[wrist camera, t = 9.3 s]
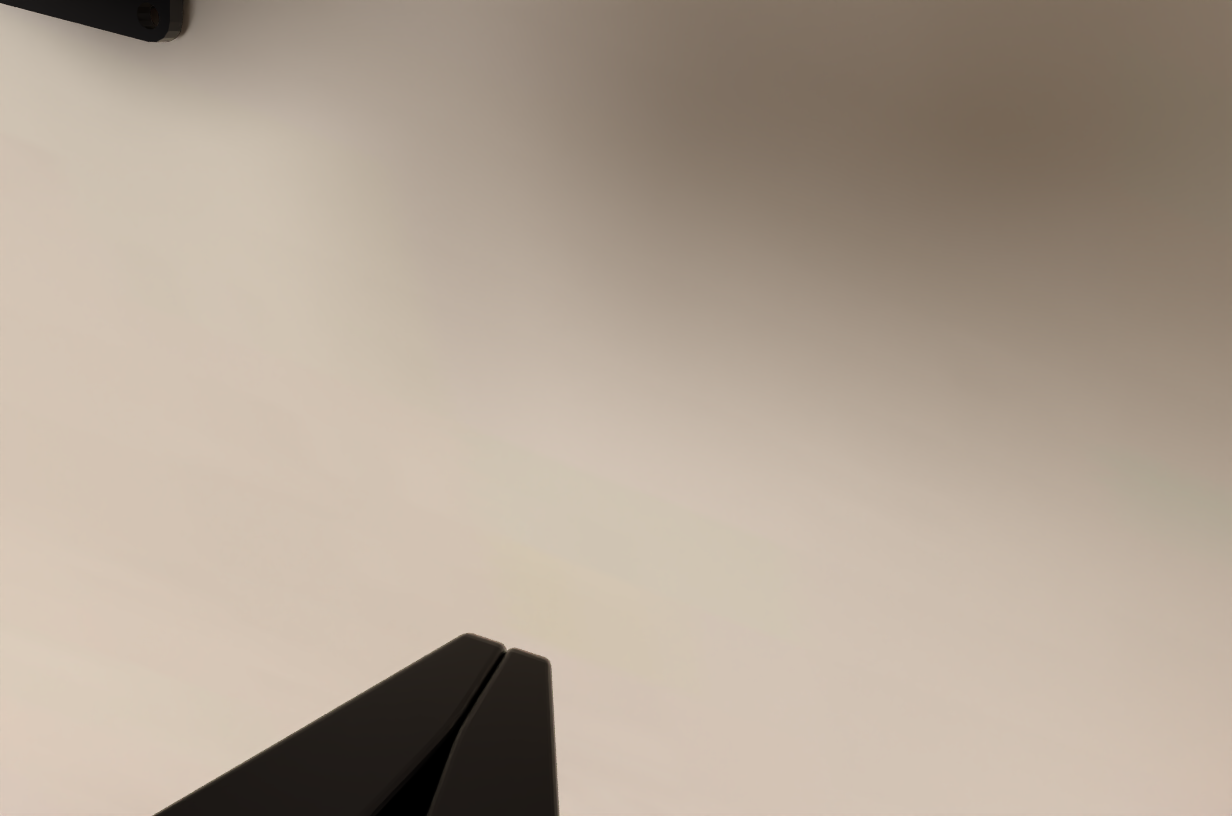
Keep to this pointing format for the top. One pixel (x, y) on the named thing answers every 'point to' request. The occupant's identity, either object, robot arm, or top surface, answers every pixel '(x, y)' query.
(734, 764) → the top surface
